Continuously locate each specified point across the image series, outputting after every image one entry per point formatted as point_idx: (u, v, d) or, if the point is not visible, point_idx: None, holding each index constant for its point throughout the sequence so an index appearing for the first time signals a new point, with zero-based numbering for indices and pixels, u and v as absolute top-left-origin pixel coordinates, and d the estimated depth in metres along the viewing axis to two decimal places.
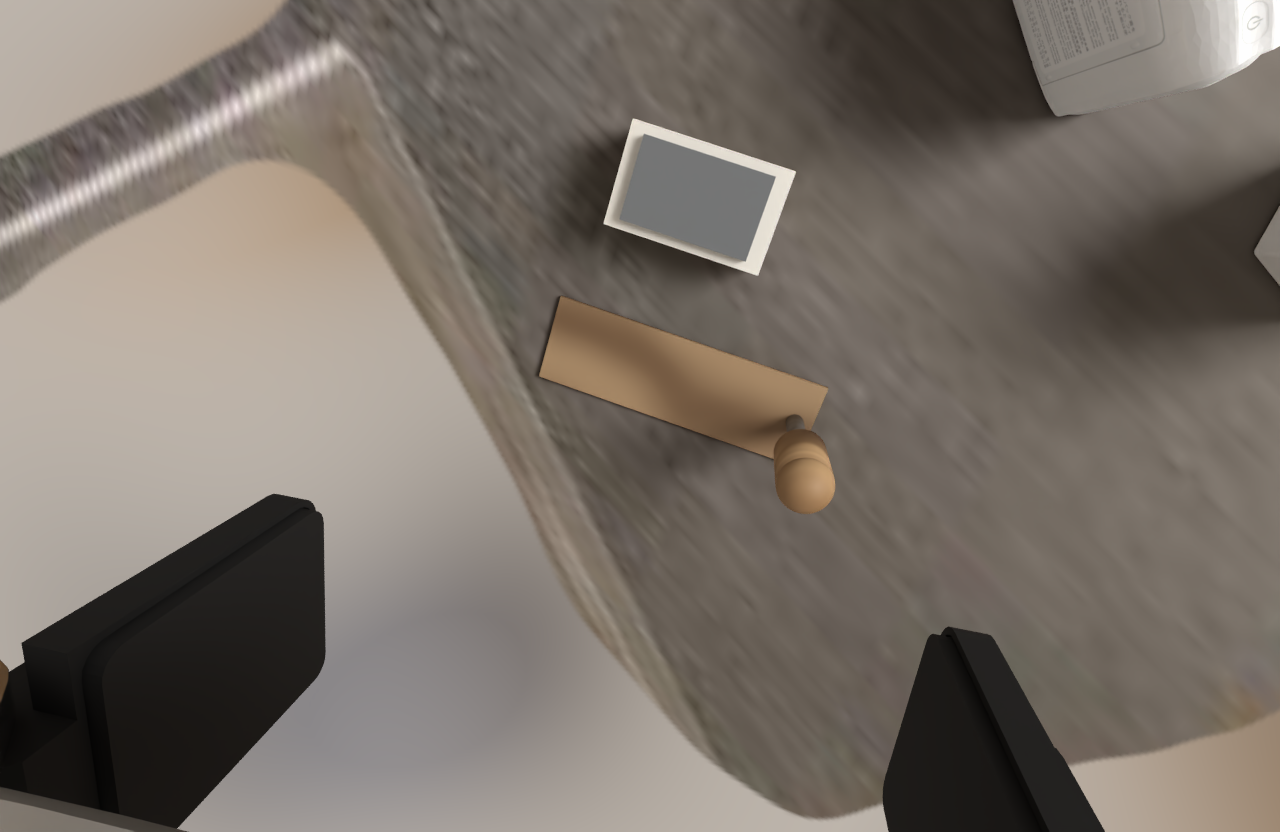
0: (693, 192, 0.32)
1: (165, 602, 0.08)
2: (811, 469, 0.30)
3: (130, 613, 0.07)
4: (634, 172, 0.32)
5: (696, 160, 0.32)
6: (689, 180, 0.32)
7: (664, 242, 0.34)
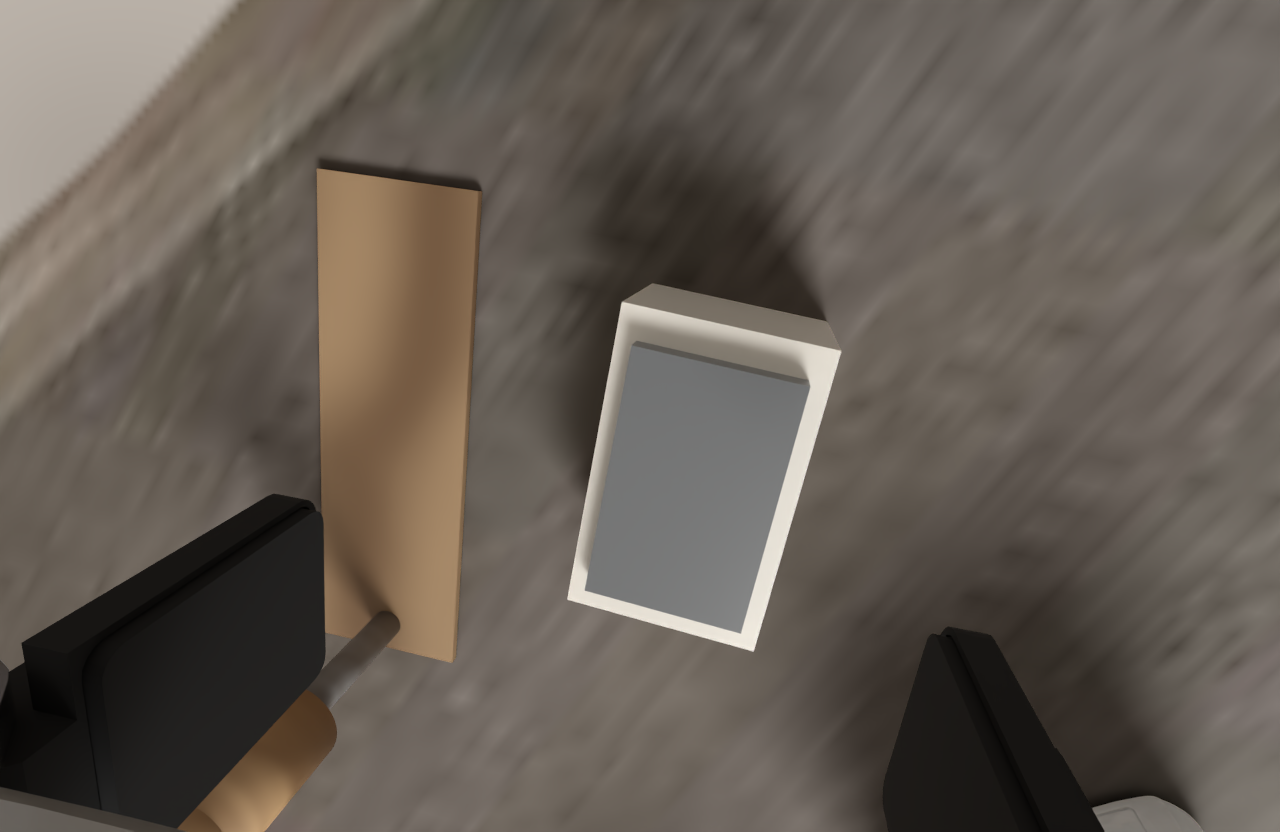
0: (700, 492, 0.16)
1: (165, 602, 0.08)
2: None
3: (130, 613, 0.07)
4: (730, 371, 0.15)
5: (761, 494, 0.16)
6: (723, 483, 0.16)
7: (601, 431, 0.17)
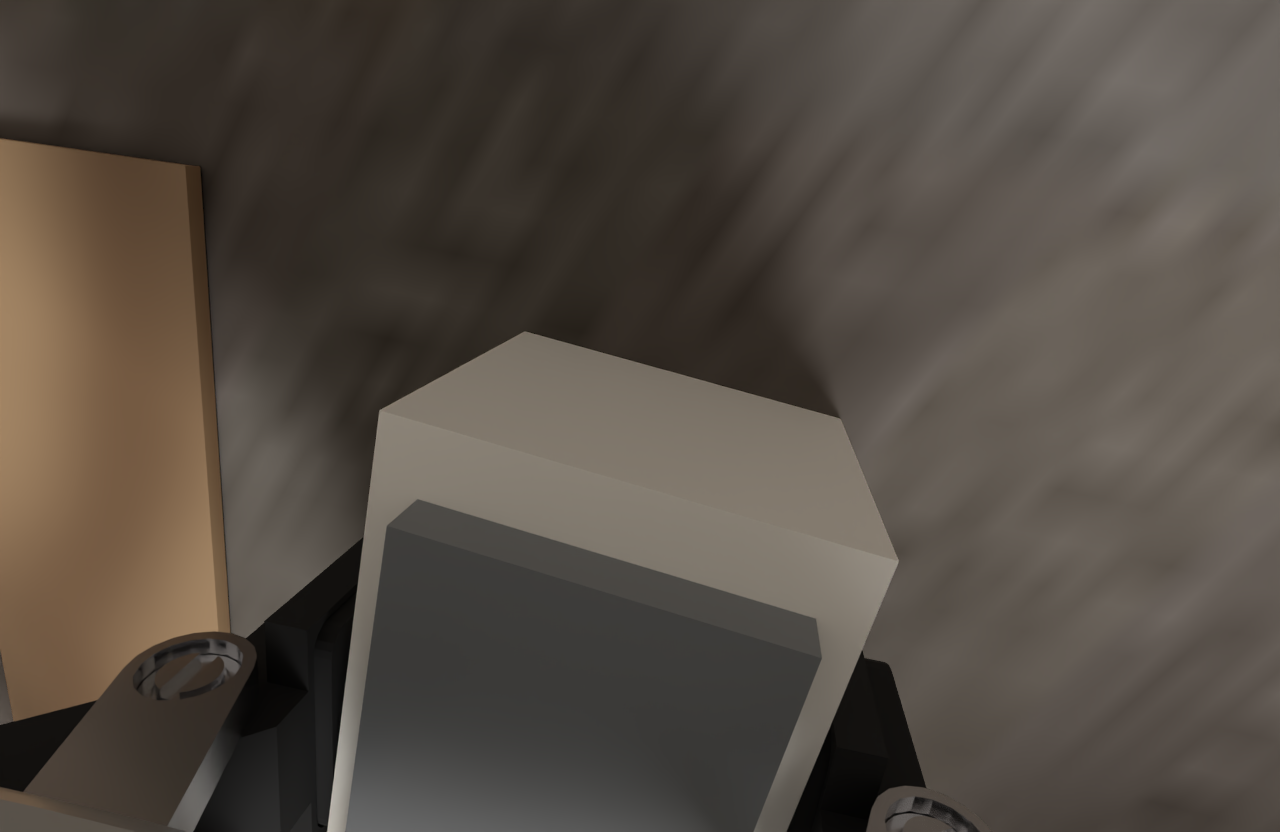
0: None
1: None
2: None
3: (345, 595, 0.08)
4: (624, 604, 0.06)
5: None
6: None
7: (353, 679, 0.08)
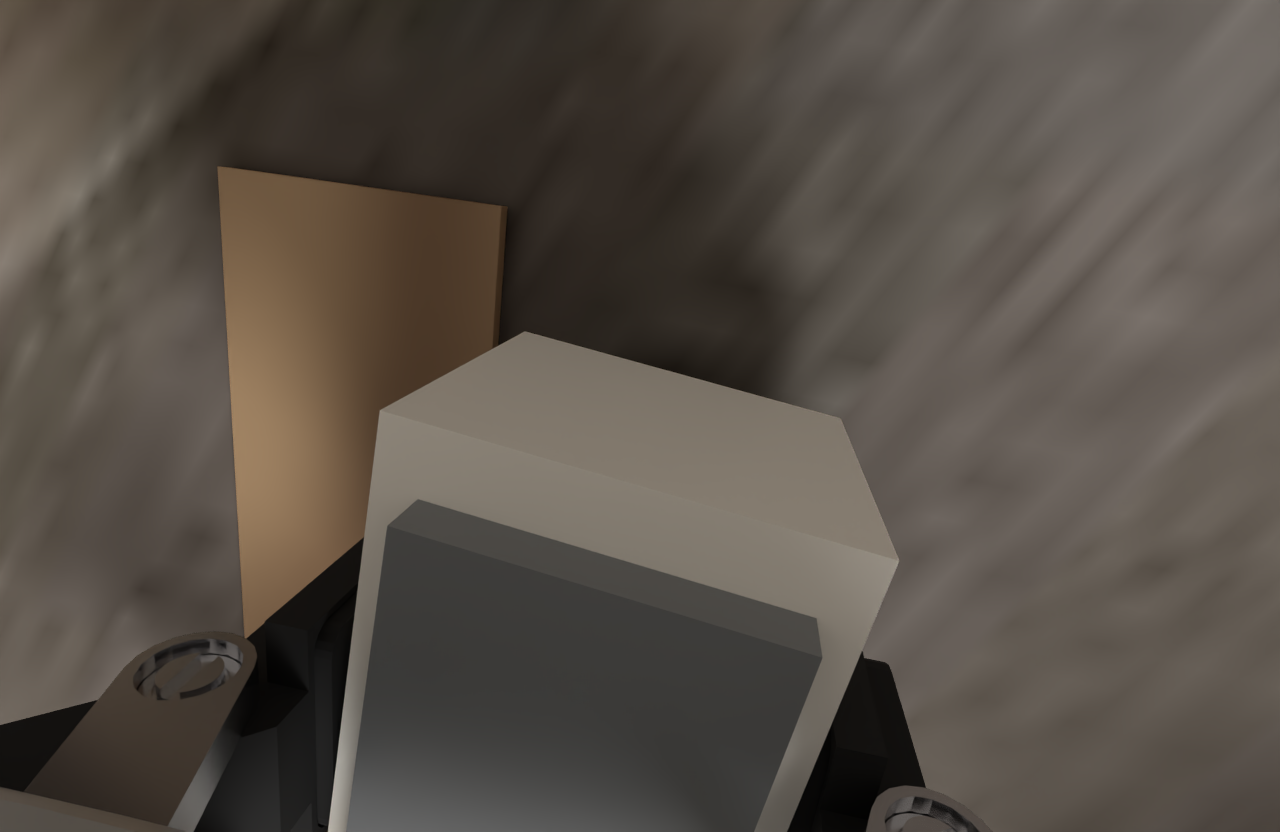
0: None
1: None
2: None
3: (345, 595, 0.08)
4: (625, 604, 0.06)
5: None
6: None
7: (353, 679, 0.08)
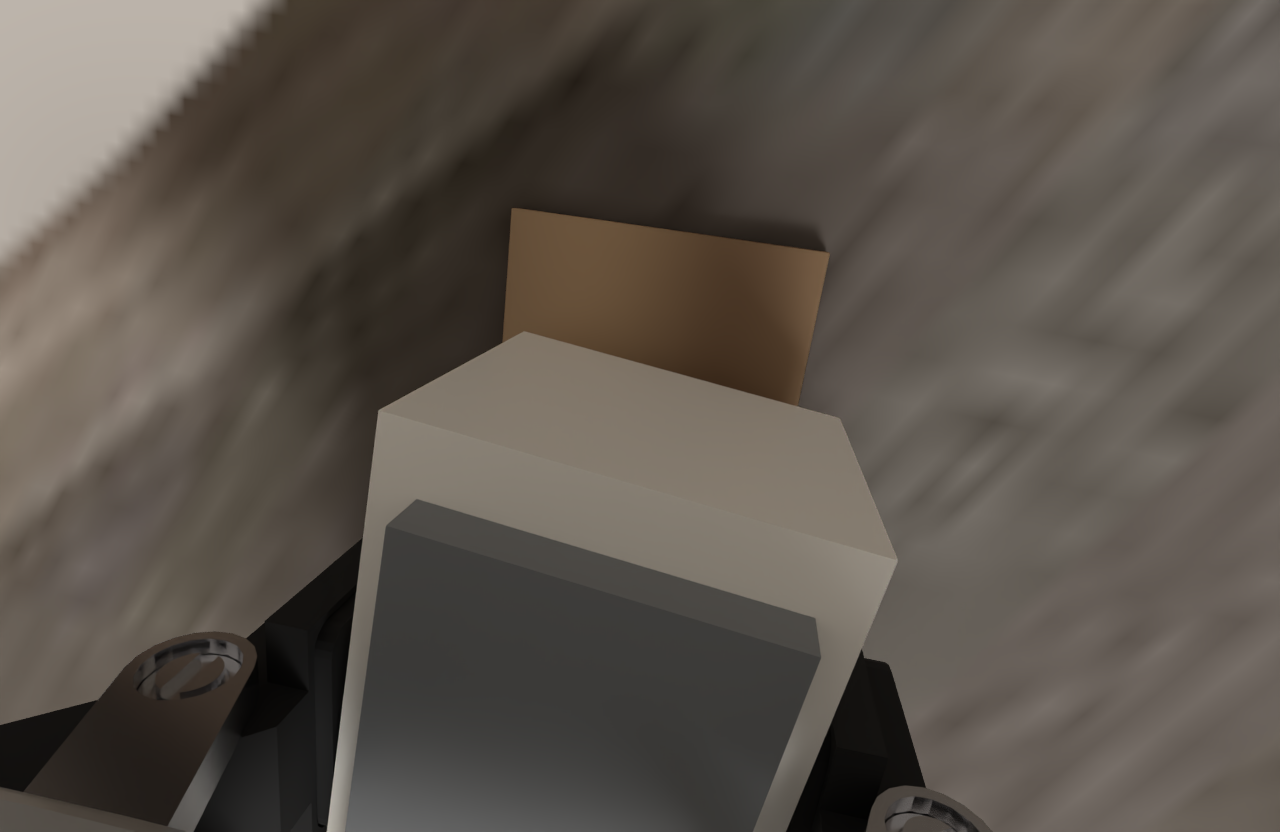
0: None
1: None
2: None
3: (345, 595, 0.08)
4: (623, 604, 0.06)
5: None
6: None
7: (352, 679, 0.08)
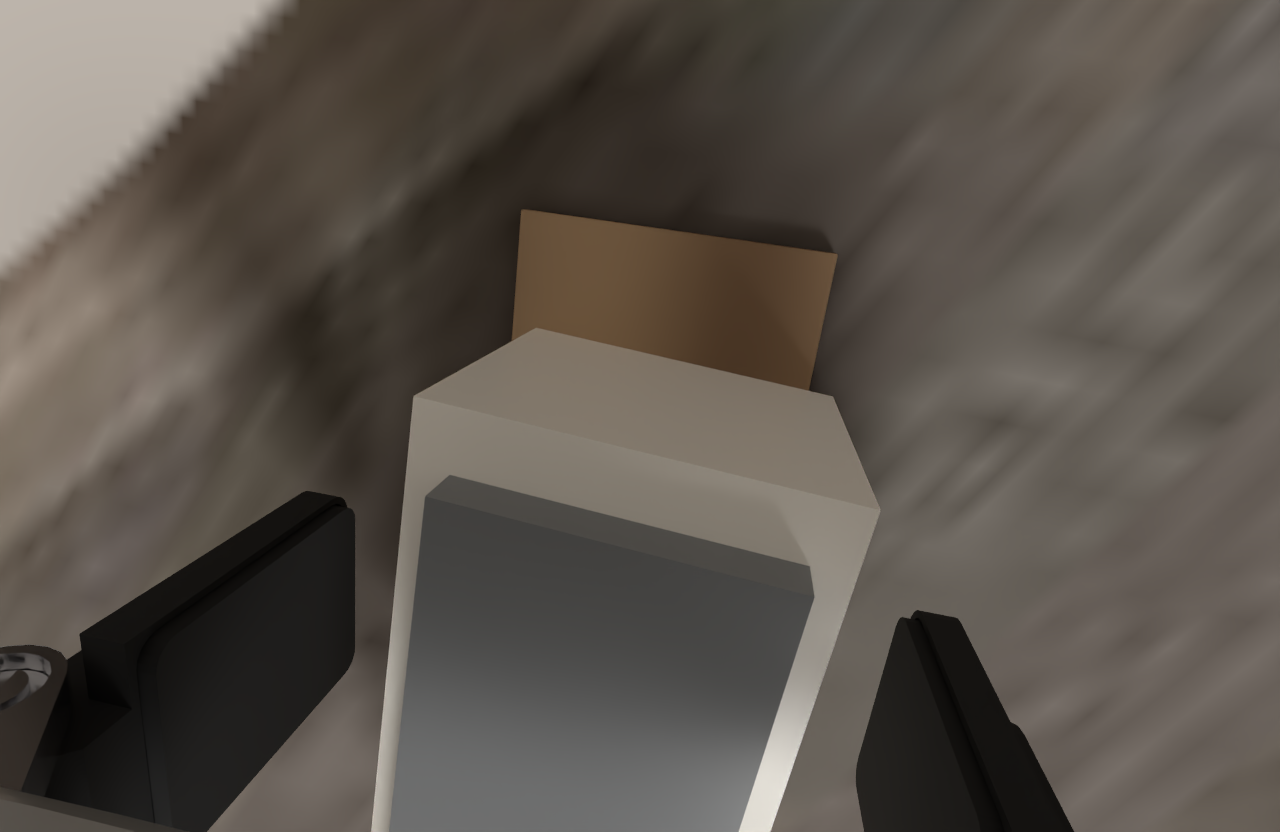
0: (585, 783, 0.08)
1: (212, 595, 0.08)
2: None
3: (181, 605, 0.08)
4: (638, 557, 0.07)
5: (711, 796, 0.08)
6: (631, 770, 0.08)
7: (395, 643, 0.08)
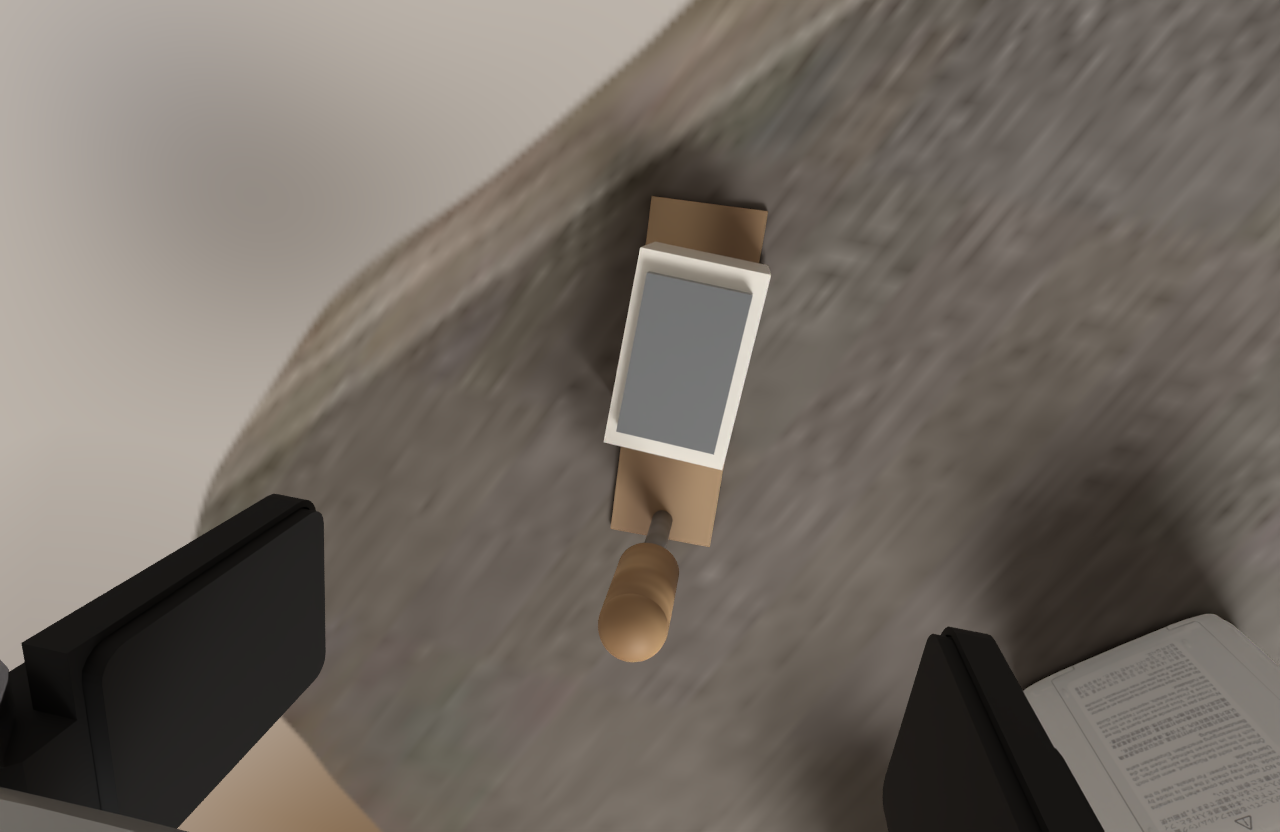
0: (688, 363, 0.26)
1: (165, 602, 0.08)
2: (659, 638, 0.25)
3: (130, 613, 0.07)
4: (705, 287, 0.25)
5: (725, 363, 0.26)
6: (702, 357, 0.26)
7: (627, 329, 0.27)
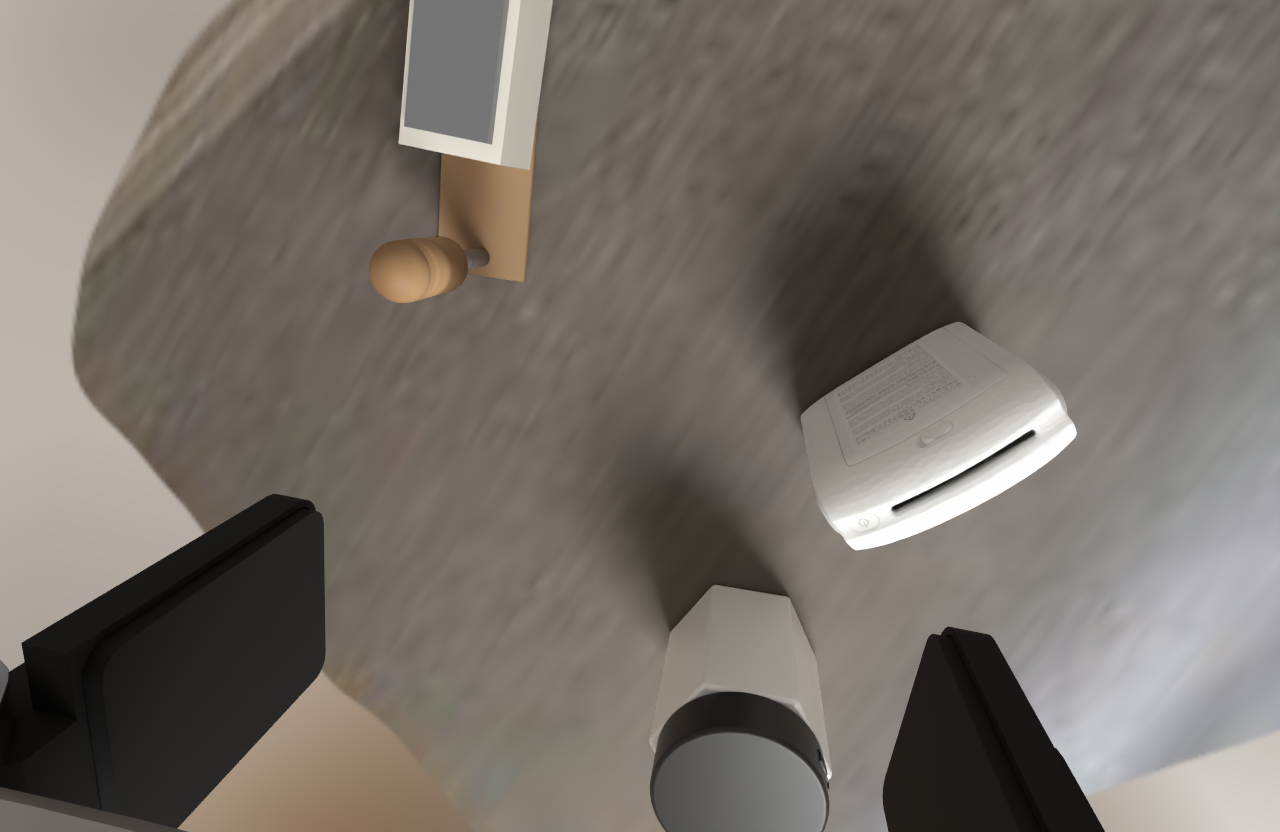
0: (458, 54, 0.30)
1: (165, 602, 0.08)
2: (417, 273, 0.28)
3: (131, 612, 0.07)
4: None
5: (489, 51, 0.30)
6: (469, 47, 0.30)
7: (409, 29, 0.31)
